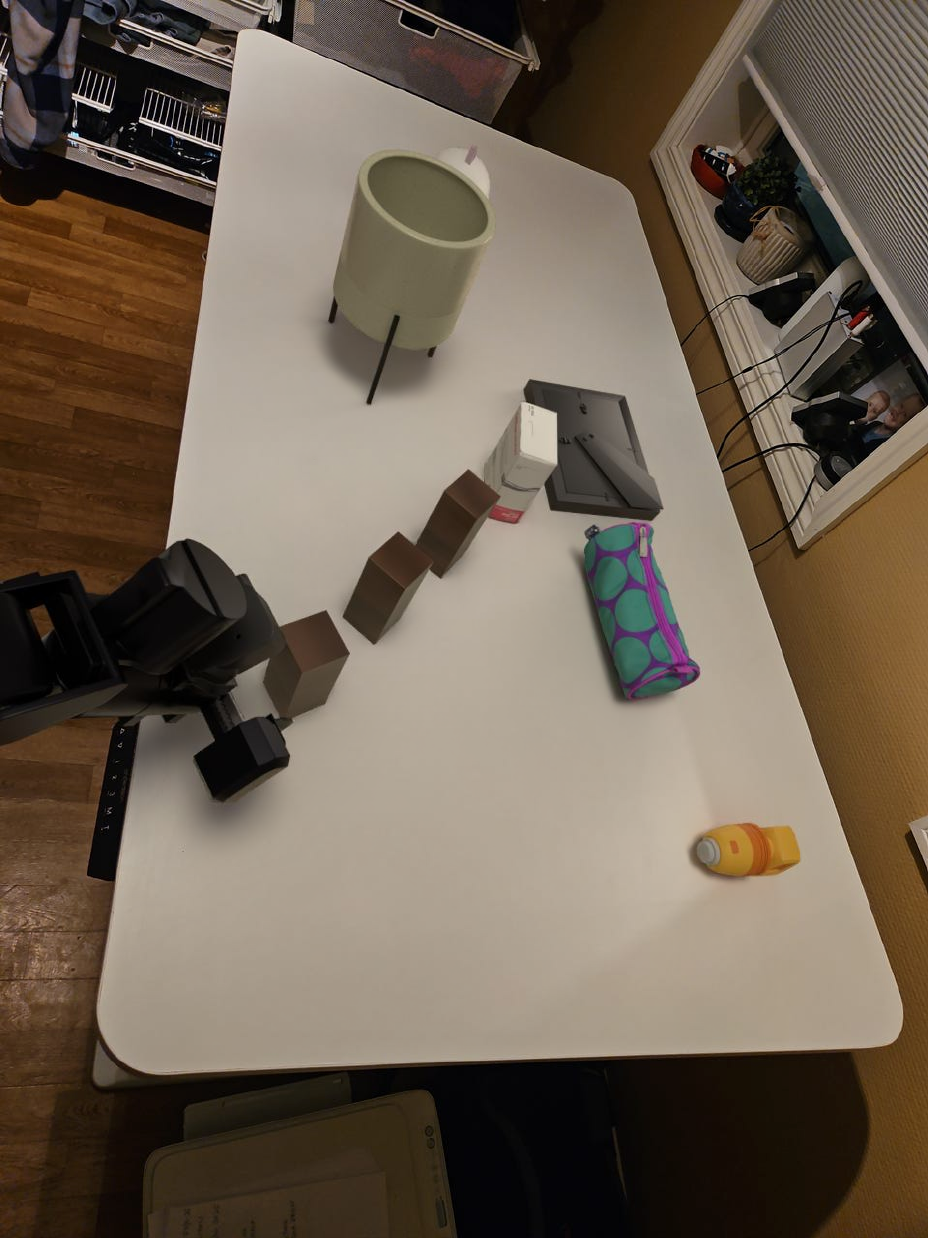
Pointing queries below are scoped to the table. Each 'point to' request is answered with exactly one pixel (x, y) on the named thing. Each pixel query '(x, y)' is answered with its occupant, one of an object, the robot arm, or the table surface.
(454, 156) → the ornament
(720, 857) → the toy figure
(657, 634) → the pencil case
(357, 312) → the planter
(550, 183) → the table surface
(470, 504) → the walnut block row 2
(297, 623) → the walnut block loose
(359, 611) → the walnut block
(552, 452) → the ink box
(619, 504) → the picture frame
